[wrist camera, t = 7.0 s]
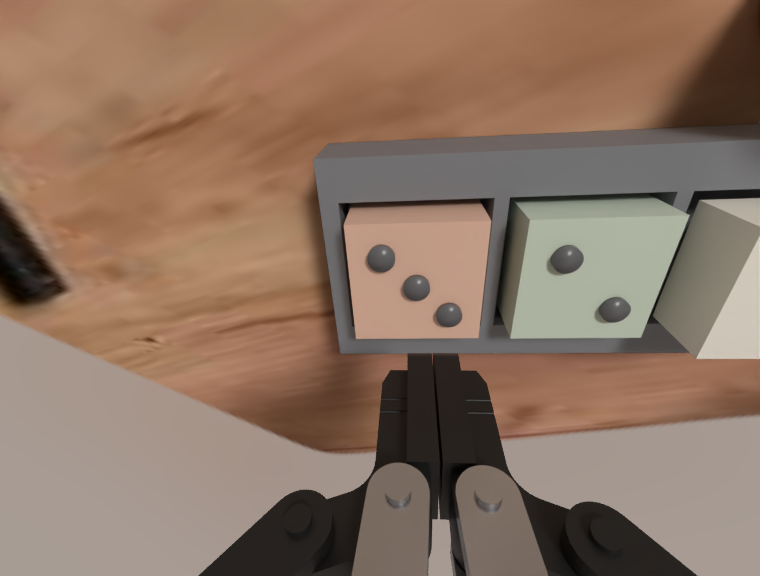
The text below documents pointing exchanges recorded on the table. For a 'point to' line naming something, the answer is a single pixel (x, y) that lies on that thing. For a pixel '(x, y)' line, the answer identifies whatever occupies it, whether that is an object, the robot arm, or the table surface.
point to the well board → (527, 179)
